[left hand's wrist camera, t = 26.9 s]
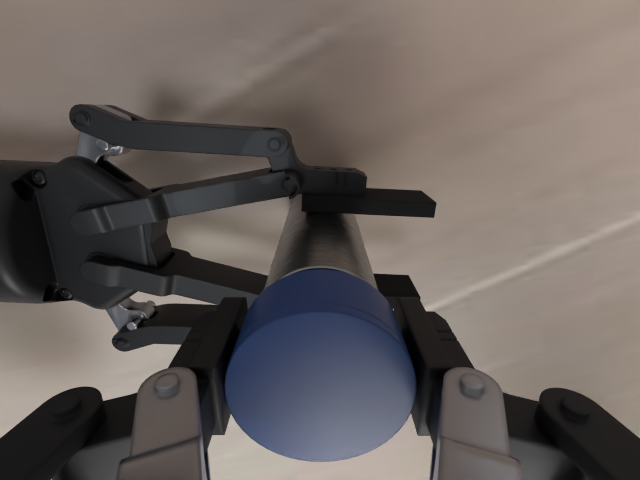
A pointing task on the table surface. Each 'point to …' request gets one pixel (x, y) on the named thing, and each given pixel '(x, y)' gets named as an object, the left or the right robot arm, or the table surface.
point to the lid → (320, 368)
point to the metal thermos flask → (320, 245)
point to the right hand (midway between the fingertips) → (418, 249)
